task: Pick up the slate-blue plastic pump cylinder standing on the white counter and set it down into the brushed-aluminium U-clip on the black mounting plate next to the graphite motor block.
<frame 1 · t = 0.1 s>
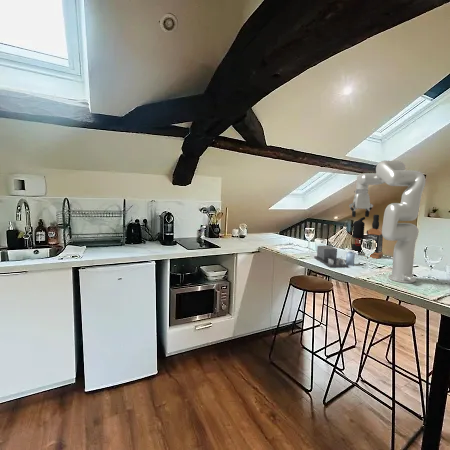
hand: (360, 216, 194), 31 cm above the breakfast bar, fingers open, 9 cm apart
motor: (330, 262, 190), on the breakfast bar
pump: (349, 264, 185), on the breakfast bar
whiskey bottle: (373, 257, 209), on the breakfast bar
dark red-label bottle: (356, 254, 218), on the breakfast bar
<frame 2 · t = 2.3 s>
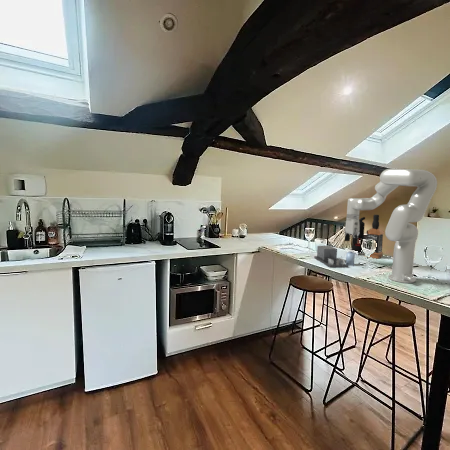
hand: (350, 242, 184), 15 cm above the breakfast bar, fingers open, 9 cm apart
nothing on the breakfast bar moved.
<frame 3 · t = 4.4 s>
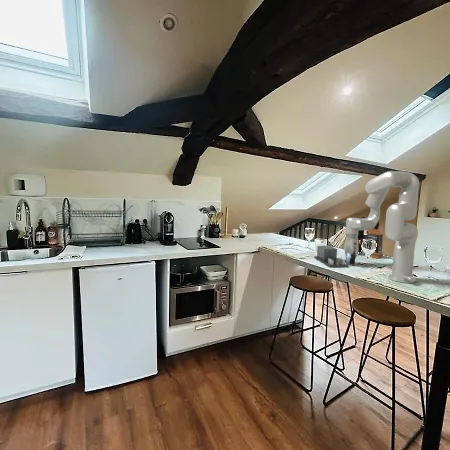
hand: (350, 262, 185), 1 cm above the breakfast bar, fingers closed on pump, 5 cm apart
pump: (349, 264, 185), on the breakfast bar, touching gripper
everything else where it was.
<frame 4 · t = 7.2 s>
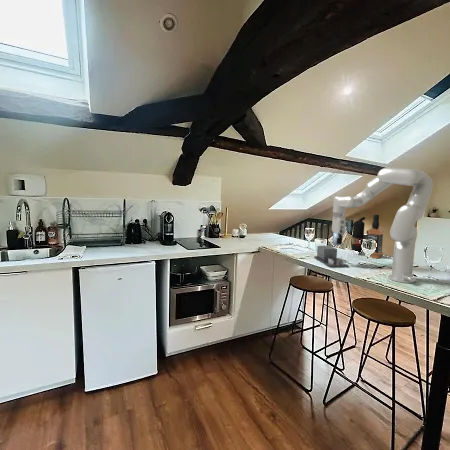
hand: (337, 242, 180), 15 cm above the breakfast bar, fingers closed on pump, 5 cm apart
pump: (337, 244, 180), point 14 cm above the breakfast bar, touching gripper
everything else where it was.
when the fingers open (4 cm above the breakfast bar, at t = 9.8 s): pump drops 2 cm, resting on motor.
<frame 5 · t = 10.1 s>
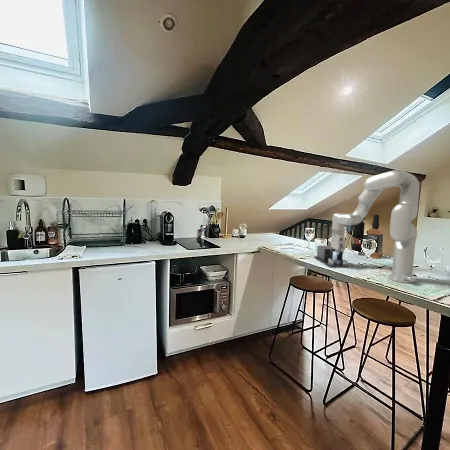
hand: (336, 258, 181), 5 cm above the breakfast bar, fingers open, 7 cm apart
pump: (336, 263, 181), point 2 cm above the breakfast bar, touching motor
everything else where it was.
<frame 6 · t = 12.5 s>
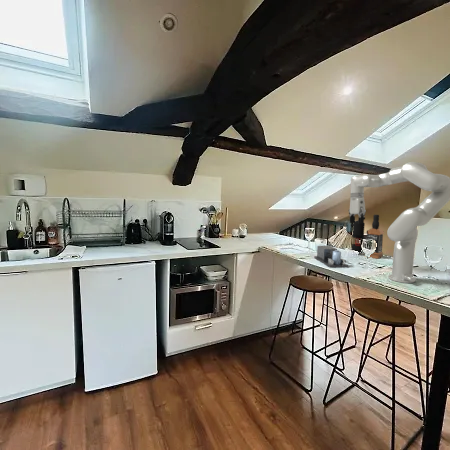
hand: (356, 223, 174), 29 cm above the breakfast bar, fingers open, 9 cm apart
nothing on the breakfast bar moved.
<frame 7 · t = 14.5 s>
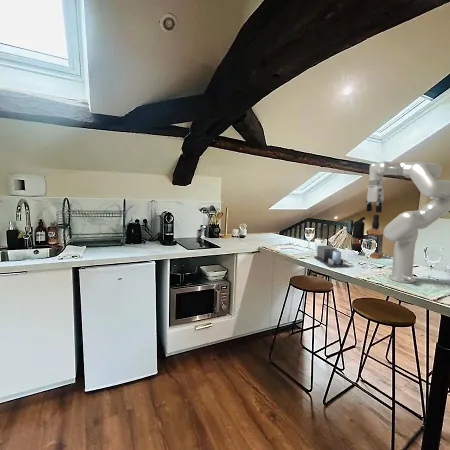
hand: (373, 211, 170), 36 cm above the breakfast bar, fingers open, 9 cm apart
nothing on the breakfast bar moved.
at the end: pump 0.0 cm from the target spot on the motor, point 1.5 cm above the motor's base; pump tilted 1°; the gripper is holding nothing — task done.
